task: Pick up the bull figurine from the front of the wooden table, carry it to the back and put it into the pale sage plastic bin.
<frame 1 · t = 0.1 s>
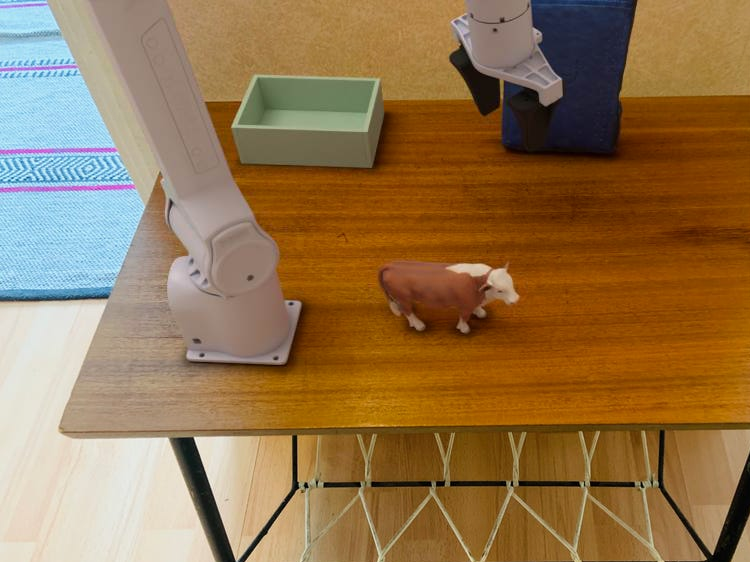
hand: (512, 128, 79), 11 cm above the table, tool pointing down, fingers open, 7 cm apart
book: (558, 147, 95), on the table
bull figurine: (451, 323, 76), on the table
bin: (315, 138, 95), on the table
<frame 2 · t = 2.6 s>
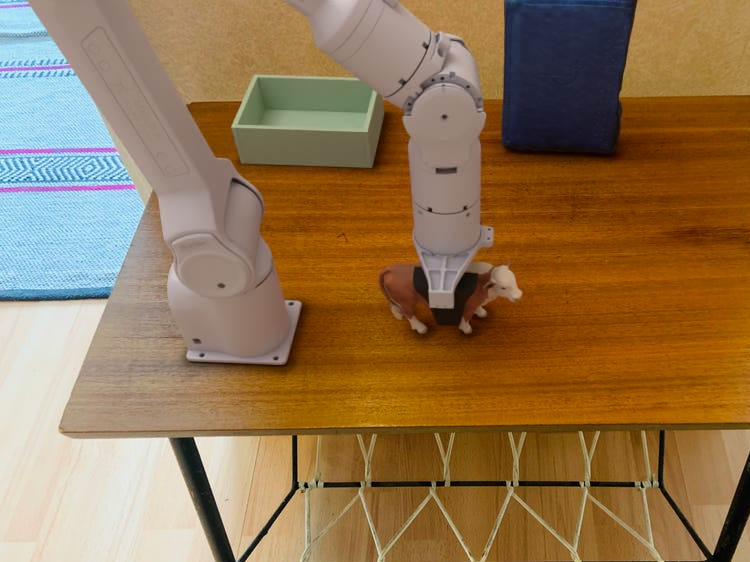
hand: (450, 305, 74), 2 cm above the table, tool pointing down, fingers closed on bull figurine, 4 cm apart
bull figurine: (452, 324, 76), on the table, touching gripper
everything else where it was.
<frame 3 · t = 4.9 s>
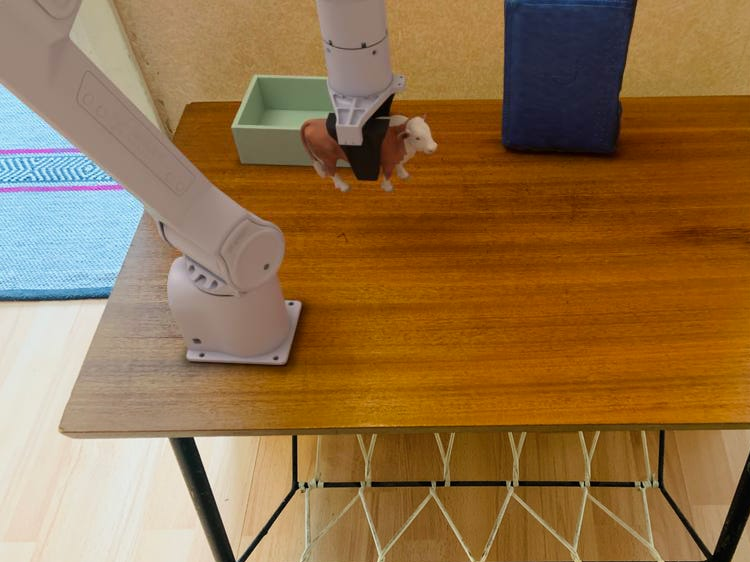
hand: (371, 163, 77), 9 cm above the table, tool pointing down, fingers closed on bull figurine, 4 cm apart
bull figurine: (375, 185, 79), point 7 cm above the table, touching gripper
everything else where it was.
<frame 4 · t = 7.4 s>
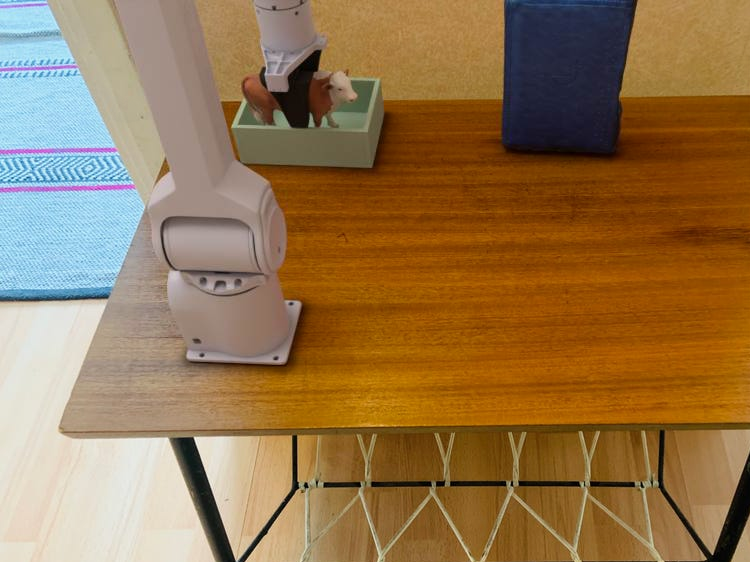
hand: (303, 114, 90), 5 cm above the table, tool pointing down, fingers closed on bull figurine, 4 cm apart
bull figurine: (309, 133, 92), point 3 cm above the table, touching gripper
everything else where it was.
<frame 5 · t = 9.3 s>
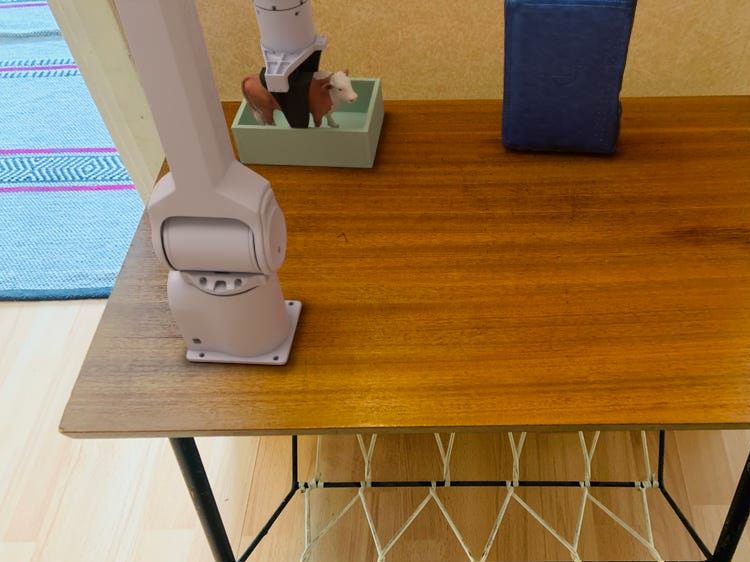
hand: (303, 114, 90), 5 cm above the table, tool pointing down, fingers closed on bull figurine, 4 cm apart
bull figurine: (309, 133, 92), point 3 cm above the table, touching gripper
everything else where it was.
when the fingers open (5 cm above the table, at t = 10.6 s): bull figurine drops 3 cm, resting on bin.
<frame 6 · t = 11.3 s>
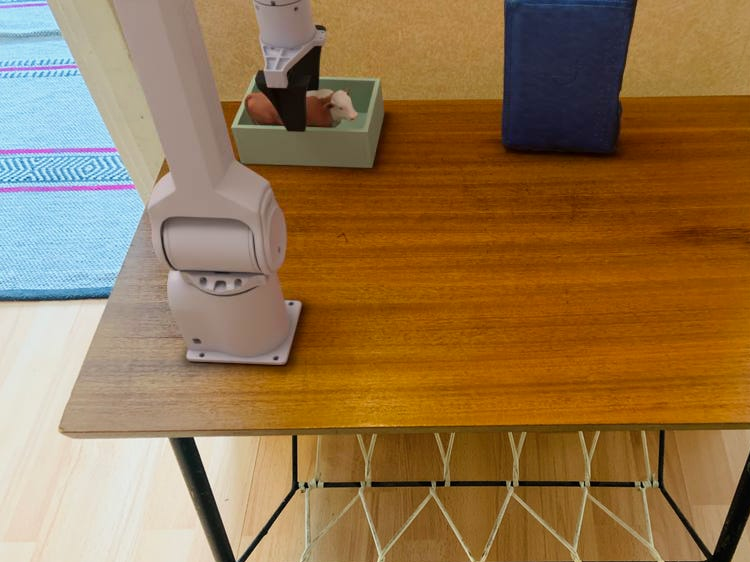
hand: (303, 110, 89), 6 cm above the table, tool pointing down, fingers open, 7 cm apart
bull figurine: (311, 149, 93), resting on bin
everything else where it was.
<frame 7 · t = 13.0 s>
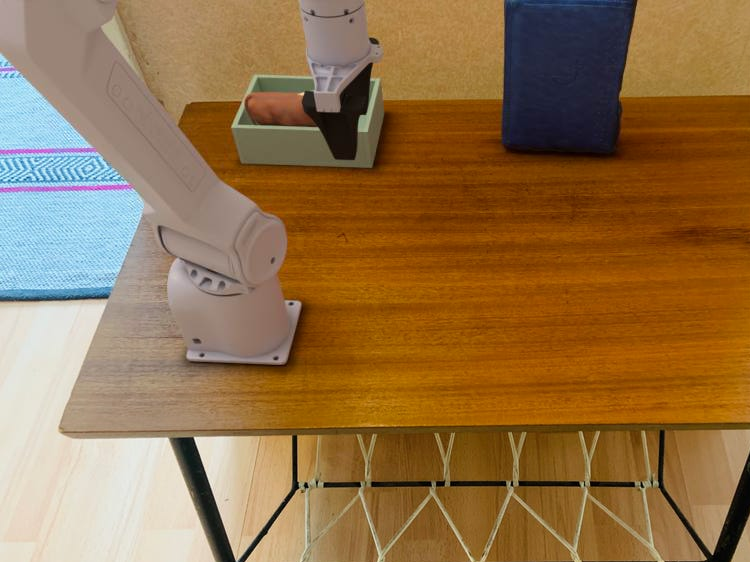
hand: (351, 134, 78), 10 cm above the table, tool pointing down, fingers open, 7 cm apart
nothing on the table moved.
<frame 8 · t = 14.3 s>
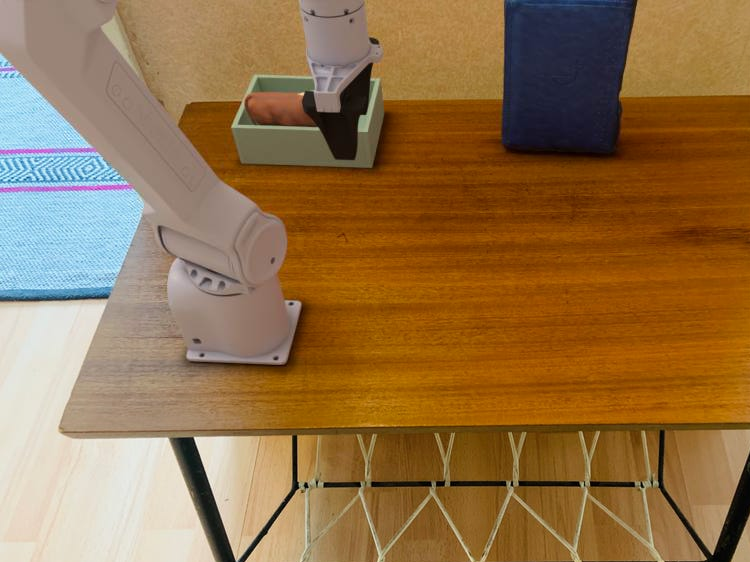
hand: (351, 134, 78), 10 cm above the table, tool pointing down, fingers open, 7 cm apart
nothing on the table moved.
at the end: bull figurine inside the target area in the bin (2.8 cm from its centre), point 0.3 cm above the bin's base; the gripper is holding nothing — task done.
